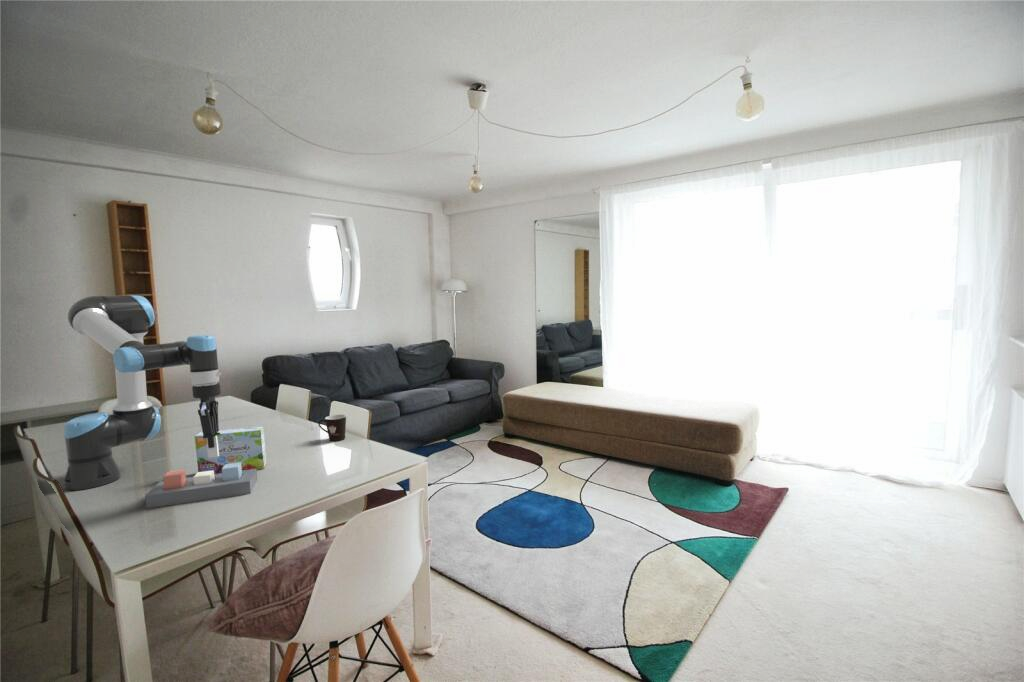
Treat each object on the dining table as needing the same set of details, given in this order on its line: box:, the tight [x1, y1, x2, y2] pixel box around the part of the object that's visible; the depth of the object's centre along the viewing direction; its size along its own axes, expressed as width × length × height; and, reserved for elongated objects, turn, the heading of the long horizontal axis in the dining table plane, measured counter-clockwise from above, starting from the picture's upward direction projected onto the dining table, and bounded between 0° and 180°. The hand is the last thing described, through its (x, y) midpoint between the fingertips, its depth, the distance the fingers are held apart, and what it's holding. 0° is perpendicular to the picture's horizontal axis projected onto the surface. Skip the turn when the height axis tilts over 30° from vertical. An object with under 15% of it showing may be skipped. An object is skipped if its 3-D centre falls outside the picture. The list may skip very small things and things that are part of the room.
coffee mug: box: [318, 414, 347, 443], centre depth 210 cm, size 12×9×10 cm
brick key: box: [162, 468, 187, 489], centre depth 152 cm, size 5×5×4 cm
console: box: [145, 469, 258, 509], centre depth 155 cm, size 28×12×4 cm, turn 109°
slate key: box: [222, 462, 242, 481], centre depth 157 cm, size 5×5×4 cm
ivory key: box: [192, 470, 215, 485], centre depth 155 cm, size 5×5×4 cm
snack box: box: [194, 426, 268, 474], centre depth 175 cm, size 21×6×15 cm, turn 105°
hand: (213, 456), depth 155 cm, fingers closed
